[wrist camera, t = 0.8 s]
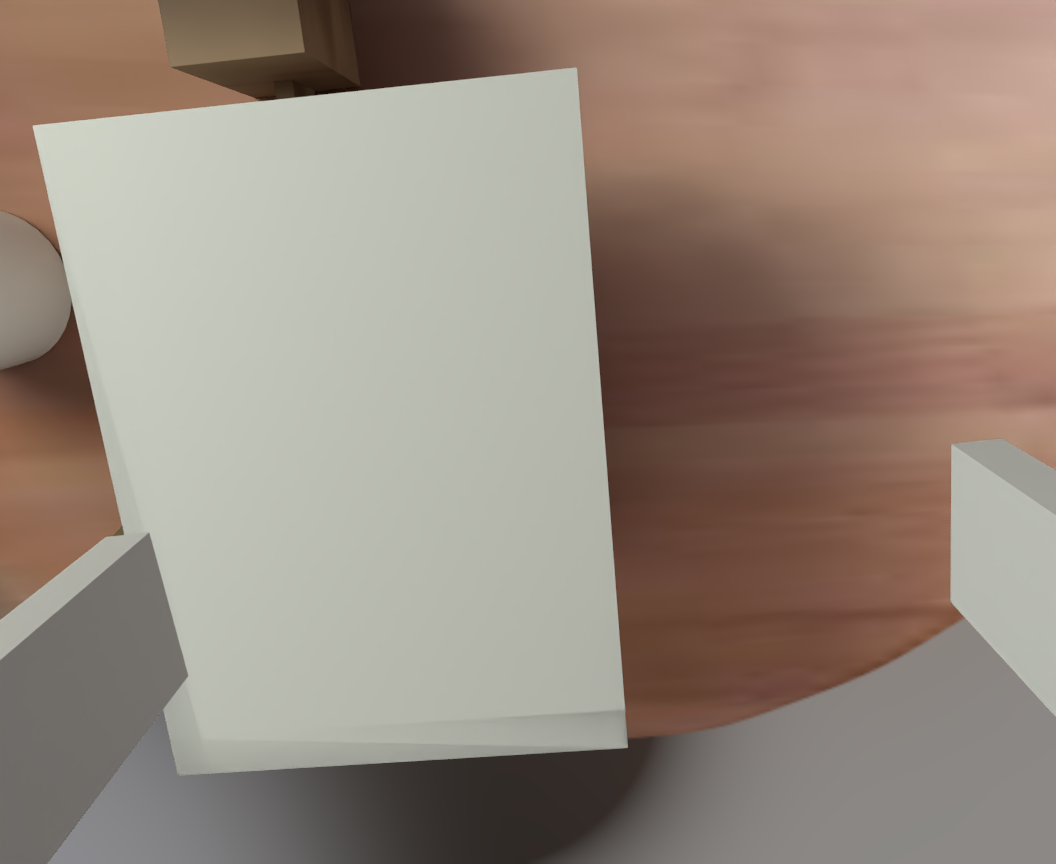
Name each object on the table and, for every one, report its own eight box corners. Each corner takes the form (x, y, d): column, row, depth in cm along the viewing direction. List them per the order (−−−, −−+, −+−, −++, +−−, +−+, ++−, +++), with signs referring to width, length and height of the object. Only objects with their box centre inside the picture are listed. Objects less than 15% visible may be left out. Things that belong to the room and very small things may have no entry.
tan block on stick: (227, -69, 38) (130, -150, 30) (337, -82, 38) (272, -168, 29) (296, 352, 43) (229, 388, 34) (394, 343, 43) (352, 377, 34)
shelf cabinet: (232, 157, 41) (32, 125, 25) (570, 122, 40) (576, 67, 24) (305, 585, 46) (178, 775, 31) (604, 563, 45) (628, 748, 30)
